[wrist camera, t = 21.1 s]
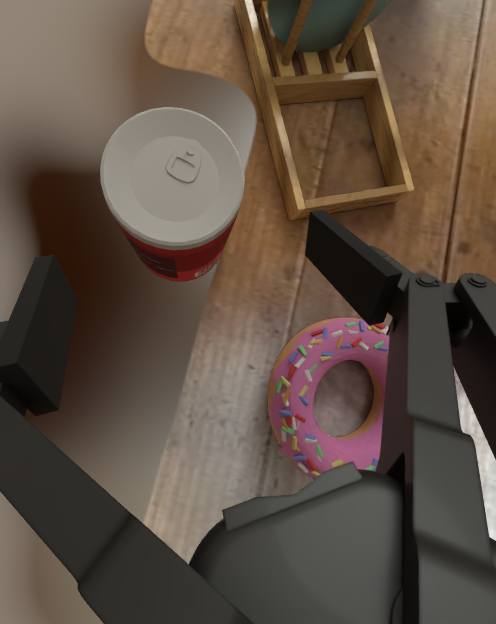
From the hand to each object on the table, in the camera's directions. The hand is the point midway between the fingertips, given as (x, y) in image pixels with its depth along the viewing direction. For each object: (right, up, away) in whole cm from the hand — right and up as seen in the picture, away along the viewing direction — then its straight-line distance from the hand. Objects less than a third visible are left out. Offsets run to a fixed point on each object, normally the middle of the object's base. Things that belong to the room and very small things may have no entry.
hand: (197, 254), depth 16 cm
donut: (+11, -11, +13) cm, 20 cm away
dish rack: (+10, +18, +15) cm, 26 cm away
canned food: (-3, +3, +11) cm, 12 cm away
